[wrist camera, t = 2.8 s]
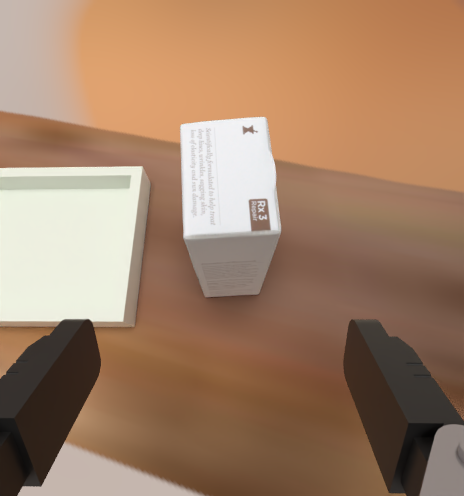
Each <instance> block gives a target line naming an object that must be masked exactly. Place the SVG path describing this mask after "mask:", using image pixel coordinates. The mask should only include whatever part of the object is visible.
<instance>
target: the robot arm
mask: <svg viewBox="0 0 464 496" xmlns="http://www.w3.org/2000/svg"><path fill="white" fill-rule="evenodd" d="M343 365H344V374H345V378H346V381H347V384H348V387H349V389H350V392H351V395H352V397H353V400H354V402H355V405H356V408H357V410H358V413H359V416H360V418H361V421H362V423H363V426H364V429H365V431H366V434H367V436H368V439H369V442H370V444H371V447H372V450H373V452H374V455H375V457H376V460H377V463H378V465H379V468H380V471H381V473H382V476H383V478H384V481H385V484H386V486H387V489H388V491H389V493H406V495H407V496H464V421H463V420H462V418H461V417H460V415H459V414H458V412H457V411H456V410H455V408H454V407H453V405H452V404H451V403H450V401H449V400H448V398H447V397H446V395H445V394H444V393H443V391H442V390H441V388H440V387H439V385H438V384H437V383H436V381H435V380H434V378H431V374H430V373H429V371H428V370H427V368H426V367H425V366H423V363H422V361H421V360H420V358H419V357H418V356H417V354H416V353H415V351H414V350H413V349H412V348H411V347H410V346H408V345H407V344H406V343H405V342H403V341H402V340H401V339H399V338H398V337H389V336H388V334H387V333H386V331H385V330H384V328H383V327H382V325H381V323H380V322H379V321H378V320H351V321H350V323H349V327H348V333H347V340H346V346H345V353H344V362H343ZM100 367H101V358H100V353H99V349H98V344H97V340H96V335H95V331H94V327H93V323H92V321H91V320H90V319H64V320H62V321H61V322H60V323H59V324H58V326H57V327H56V328H55V329H54V330H53V332H52V333H51V334H50V335H49V336H44V337H42V338H41V339H39V340H38V341H36V342H35V343H33V344H32V345H30V346H29V347H28V348H27V349H26V350H25V351H24V352H23V354H22V355H21V356H20V357H19V358H18V359H17V360H16V363H14V364H13V365H12V366H11V367H10V368H9V370H8V371H7V372H6V375H3V376H2V378H1V379H0V496H17V495H18V493H19V492H20V490H21V488H22V486H42V484H43V482H44V480H45V478H46V476H47V474H48V472H49V470H50V469H51V467H52V465H53V463H54V461H55V459H56V457H57V455H58V453H59V451H60V449H61V447H62V446H63V444H64V442H65V440H66V438H67V436H68V434H69V432H70V430H71V428H72V426H73V424H74V422H75V421H76V419H77V417H78V415H79V413H80V411H81V409H82V407H83V405H84V403H85V401H86V399H87V398H88V396H89V394H90V392H91V390H92V388H93V386H94V384H95V382H96V380H97V378H98V376H99V372H100Z"/></svg>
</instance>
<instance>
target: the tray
mask: <svg viewBox="0 0 464 496" xmlns="http://www.w3.org/2000/svg"><path fill="white" fill-rule="evenodd" d="M150 187H151V183H150V181H149V179H148V177H147V175H146V173H145V170H144V168H143V166H139V167H56V168H0V327H57V326H58V324H59V323H60V322H61V321H62V320H64V319H90V320H91V321H92V323H93V327H135V321H136V312H137V303H138V294H139V285H140V276H141V267H142V258H143V249H144V241H145V232H146V223H147V214H148V205H149V196H150Z"/></svg>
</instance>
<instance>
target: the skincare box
mask: <svg viewBox="0 0 464 496" xmlns="http://www.w3.org/2000/svg"><path fill="white" fill-rule="evenodd" d="M180 139H181V171H182V210H183V231H184V232H183V238H184V241H185V244H186V246H187V249H188V251H189V255H190V258H191V261H192V264H193V267H194V269H195V272H196V275H197V278H198V280H199V283H200V285H201V288H202V291H203V293H204V296H205V297H221V296H237V295H257V294H259V293H260V290H261V288H262V285H263V282H264V279H265V276H266V273H267V271H268V268H269V265H270V262H271V260H272V257H273V254H274V251H275V248H276V245H277V243H278V240H279V237H280V234H281V224H280V216H279V208H278V200H277V192H276V170H275V163H274V159H273V156H272V151H271V144H270V136H269V130H268V123H267V119H266V118H265V117H254V118H240V119H228V120H216V121H204V122H196V123H189V124H182V125H181V126H180Z"/></svg>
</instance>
